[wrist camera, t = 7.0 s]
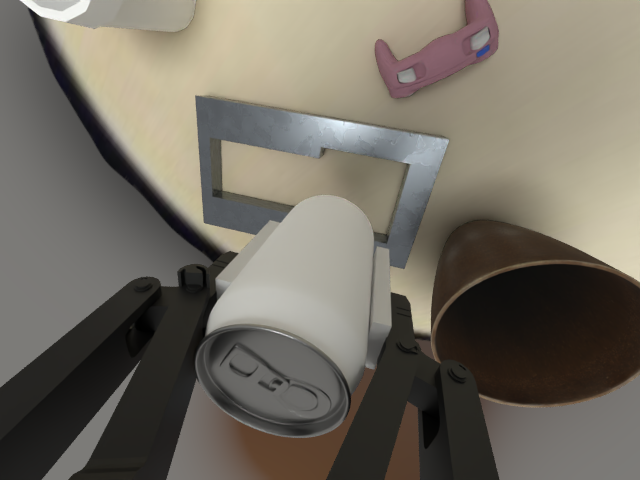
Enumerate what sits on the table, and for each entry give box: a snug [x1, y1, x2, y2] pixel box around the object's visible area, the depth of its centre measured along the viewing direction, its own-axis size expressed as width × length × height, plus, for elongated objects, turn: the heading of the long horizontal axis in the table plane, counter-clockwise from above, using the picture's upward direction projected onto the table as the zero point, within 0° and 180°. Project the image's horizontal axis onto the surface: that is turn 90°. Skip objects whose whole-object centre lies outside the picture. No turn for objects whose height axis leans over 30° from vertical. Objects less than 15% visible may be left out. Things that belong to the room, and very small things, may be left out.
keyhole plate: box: [195, 96, 449, 269], centre depth 34 cm, size 28×16×2 cm, turn 82°
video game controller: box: [375, 0, 499, 98], centre depth 25 cm, size 10×5×7 cm, turn 115°
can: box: [193, 195, 374, 438], centre depth 15 cm, size 6×6×12 cm
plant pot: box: [431, 220, 640, 407], centre depth 28 cm, size 15×15×16 cm
